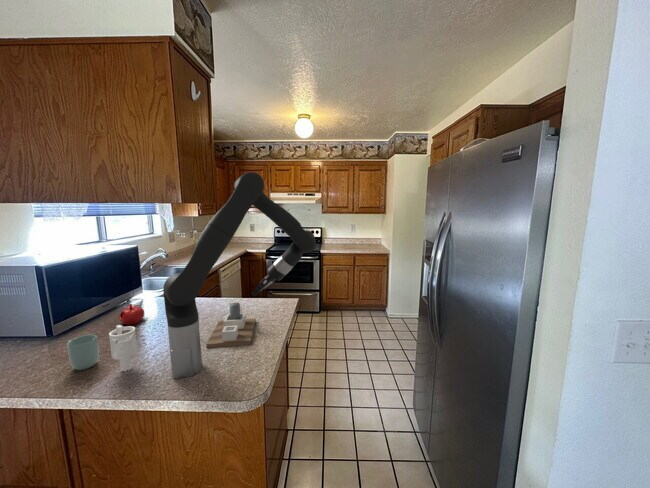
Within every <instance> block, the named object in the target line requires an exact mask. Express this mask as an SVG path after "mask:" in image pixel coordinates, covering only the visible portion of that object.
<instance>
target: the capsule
mask: <svg viewBox="0 0 650 488" xmlns="http://www.w3.org/2000/svg"><path fill="white" fill-rule="evenodd" d="M240 313H241V304H240V303H239V302H232V303H229V314H230V320H238V319H241V318H240Z"/></svg>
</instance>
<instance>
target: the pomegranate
mask: <svg viewBox="0 0 650 488" xmlns="http://www.w3.org/2000/svg"><path fill="white" fill-rule="evenodd" d="M126 307H127V308H122V309H121V312H120V314H119V316H118V317H119V321H120V322H121V324H122V325H127V326H131V325H135V324H138V323H139V322H141V321H142V320H143V318H144V317H145V310H144V309H143V308H141V307H140V305H138V304H137V305H135V304H132V303H130V304H129V305H127V306H126Z"/></svg>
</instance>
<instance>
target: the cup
mask: <svg viewBox="0 0 650 488" xmlns="http://www.w3.org/2000/svg"><path fill="white" fill-rule="evenodd" d="M66 347H67V353H68V360H69V363H70V365H71V367H72V368H73V369H74V370H77V371H83V370H87V369H90V368H92V367H93V366H95V365H96V364H97V363H98V361H99V357H100V349H99V348H100V347H99V341H98V335H96V334H92V333H91V334H84V335H81V336H77V337H74V338H73V339H70V340H68V342H67V344H66Z"/></svg>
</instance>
